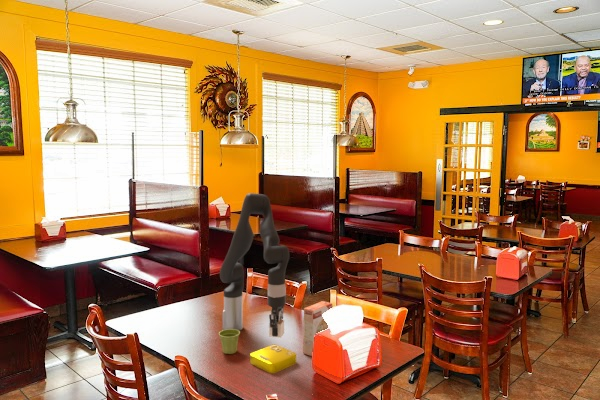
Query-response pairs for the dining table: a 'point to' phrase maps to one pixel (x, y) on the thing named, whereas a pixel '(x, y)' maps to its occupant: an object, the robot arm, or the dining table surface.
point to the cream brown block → (280, 329)
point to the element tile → (273, 358)
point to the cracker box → (313, 324)
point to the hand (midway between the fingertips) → (276, 333)
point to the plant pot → (229, 340)
